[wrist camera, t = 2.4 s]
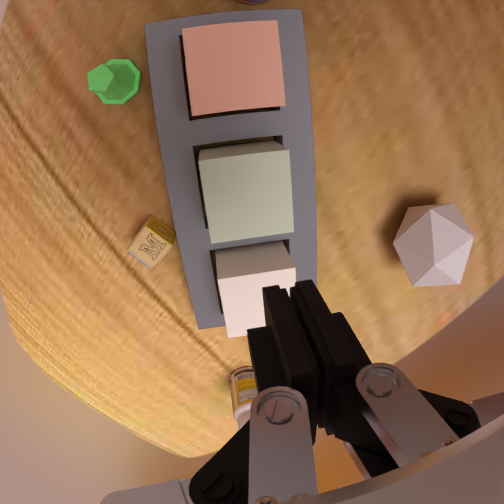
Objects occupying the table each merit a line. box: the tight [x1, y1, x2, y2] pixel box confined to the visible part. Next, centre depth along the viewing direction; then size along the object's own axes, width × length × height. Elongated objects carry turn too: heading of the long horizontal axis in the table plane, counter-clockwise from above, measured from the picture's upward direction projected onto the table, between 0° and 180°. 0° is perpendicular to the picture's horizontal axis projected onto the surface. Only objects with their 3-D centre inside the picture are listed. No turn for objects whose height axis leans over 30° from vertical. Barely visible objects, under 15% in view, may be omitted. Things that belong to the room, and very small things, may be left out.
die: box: [393, 203, 474, 287], centre depth 30 cm, size 8×9×10 cm
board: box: [145, 9, 317, 329], centre depth 27 cm, size 28×12×3 cm, turn 6°
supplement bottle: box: [229, 367, 258, 430], centre depth 36 cm, size 5×5×8 cm
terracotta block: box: [182, 20, 286, 116], centre depth 20 cm, size 6×6×5 cm
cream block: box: [215, 240, 296, 338], centre depth 28 cm, size 6×6×5 cm
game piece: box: [87, 59, 142, 104], centre depth 20 cm, size 4×4×6 cm
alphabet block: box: [127, 215, 176, 270], centre depth 28 cm, size 3×3×3 cm
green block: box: [198, 140, 294, 244], centre depth 24 cm, size 6×6×5 cm
